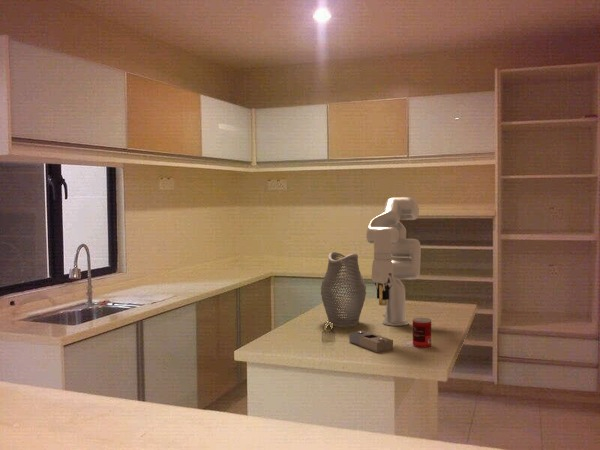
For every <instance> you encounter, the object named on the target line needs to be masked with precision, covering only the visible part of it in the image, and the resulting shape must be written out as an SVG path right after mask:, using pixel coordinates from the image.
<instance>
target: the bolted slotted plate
mask: <svg viewBox="0 0 600 450" xmlns="http://www.w3.org/2000/svg"><path fill="white" fill-rule="evenodd" d="M349 343H351V344H354V345H356V346H358V347H362V348H365V349H367V350H369V351H372V352H375V353H383V352H389V350H390V351H394V340H393V339H390V338H388V337H384V336H382V335H378V334H375V333H372V332H370V331H367V330H358V331H353V332H349Z"/></svg>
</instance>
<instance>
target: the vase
mask: <svg viewBox="0 0 600 450" xmlns="http://www.w3.org/2000/svg"><path fill="white" fill-rule="evenodd" d="M358 260H359V255H358V254H357V253H349V254H347V255H343V254H341V253H339V252H332V251H331V252H330V253H329V254H328V263H327V268H326V272H325V274H324V277H323V280H322V282H321V286H320V295H321V301H322V304H323V308H324V309H325V310H324V311H325V313H326V317H327V321H328V323H329V322H331V323H333V325H334V326H333V327H340V328H349V327H355V326H358V325H359V322H360V317H361V313H362V310H363V308H364V307H363V306H364V303H365V301H366V295H367V291H366V290H367V287H366V282H365V280H364V278H363V275H362V273H361V271H360V265H359V261H358Z"/></svg>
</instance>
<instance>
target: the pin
mask: <svg viewBox="0 0 600 450" xmlns="http://www.w3.org/2000/svg"><path fill="white" fill-rule="evenodd" d="M382 291H384V290H383V284H381V283H379V299H378V301H379V302H378V305H379V306H383V307H386V305H387V300H383V299H382Z"/></svg>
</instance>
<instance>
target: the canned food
mask: <svg viewBox="0 0 600 450" xmlns="http://www.w3.org/2000/svg"><path fill="white" fill-rule="evenodd" d="M412 344H413V346H414V347H416V348H423V349H424V348H431V346H432V319H431V318H428V317H414V318H413V319H412Z"/></svg>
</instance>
